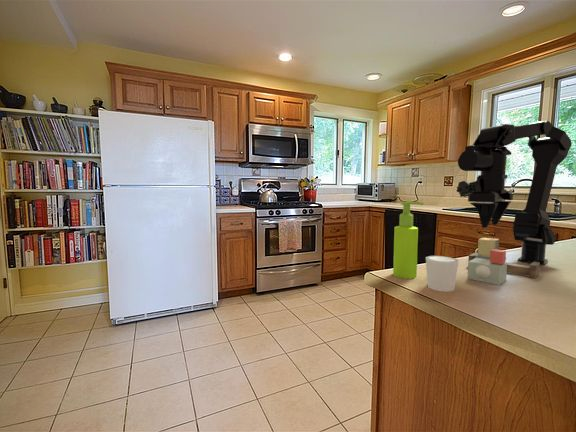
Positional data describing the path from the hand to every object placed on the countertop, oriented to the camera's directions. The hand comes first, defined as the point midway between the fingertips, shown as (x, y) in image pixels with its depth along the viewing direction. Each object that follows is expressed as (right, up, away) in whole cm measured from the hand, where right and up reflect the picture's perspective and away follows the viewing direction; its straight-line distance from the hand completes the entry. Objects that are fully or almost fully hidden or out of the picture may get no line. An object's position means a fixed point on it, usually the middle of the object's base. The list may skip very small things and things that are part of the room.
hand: (489, 226), depth 83 cm
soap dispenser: (-26, -13, -5) cm, 30 cm away
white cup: (-22, -14, -14) cm, 30 cm away
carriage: (0, -12, +1) cm, 12 cm away
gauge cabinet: (-7, -13, -9) cm, 18 cm away
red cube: (-6, -9, -11) cm, 15 cm away
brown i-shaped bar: (+2, -13, -1) cm, 13 cm away
